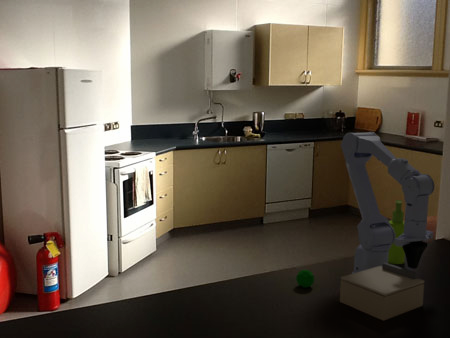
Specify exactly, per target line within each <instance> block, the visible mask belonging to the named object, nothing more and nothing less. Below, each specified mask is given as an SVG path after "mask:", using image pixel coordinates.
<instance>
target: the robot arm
mask: <svg viewBox="0 0 450 338" xmlns="http://www.w3.org/2000/svg"><path fill="white" fill-rule="evenodd" d="M340 148H341V150H342V151H341V152H342V154H343V158H344V160H345V165H346V166H345V167H346V169H347V173H348V176H349V179H350V183H351V185H352V189H353V192H354V195H355V199H356V201H357V206H358V209H359V213H360V215H361V220H360V221H359V223H358V224H357V226H356V228H357V232H358V233H357V236H358V241H359V245H358V246H357V247H356V249H355V251H354V262H353V263H354V264H353V271H351V274H353V273H357V272H360V271H364V270H367V269H371V268H374V267H378V266H382V265H383V263H388V254H389V249H390V248H391V245H392V244H393V243H394V242H395V245H396V246H399V247H402V248H403V250H404V252H405V260H406V264H407V265H406V266H407V267H408V268H410V269H413V270H415V269H417V268H418V266H419V264H420V260H421V258H422V256H423V253H424V251H425V250H426V249H427V248H428V241H430V240H431V239H434V238H433V237H434V231H432V230H427V224H428V211H429V210H428V209H429V202H430V201H429V197H430V195H432V194H433V193H434V191H435V182H434V179H433V178H432V177H431V175H430V174H428V173H427V174H426V173H424V174H423V173H421V172H420V170H419V169H416V168H415V167H413V166H412V165H411V164H410V163H409V160H408V159H407V158H402V157H396V156H395V155H394V154H393V152H391V151H390V150H389V148H387V147H386V145H384V143H382V141H381V137H380V136H379V135H377V134H376V133H375V132H374V131H368V132H347V133H345V135H343V138H342V141H341V143H340ZM372 157H374V158H376V159H377V160H378V161H380V163H382V164H383V165H384V166H386V167H387V174H389V176H391V177H392V178H393V179H394V180H395V182H397V183H398V184H399V185H400V186H401V190H402V193H403V195H404V198H403V199H404V202H405V211H404V220H403V221H404V233H403V234H402V235H401V236H399V237H398V238H396V234H395V231H394V229H393V228H392V226H391V225H390V223H389V221H390V220H389V219H388V218H387V217H385V216H384V215H383V214H381V212H380V211H381V210H380V208H379V205H378V202H377V199H376V196H375V192H374V190H373V187H372V182H371V180H370V177H369V174H368V171H367V170H368V169H367V168H366V164H367V162H368V161H370V159H372ZM388 264H389V263H388Z"/></svg>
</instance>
